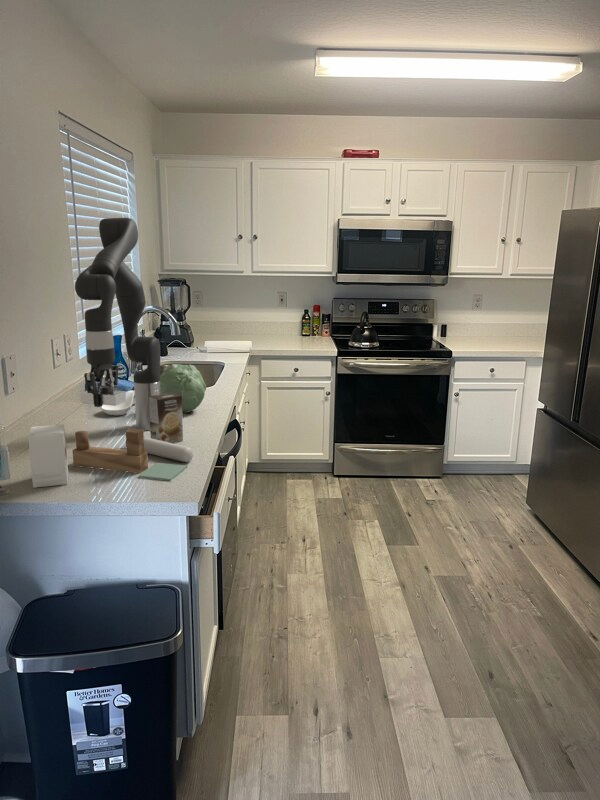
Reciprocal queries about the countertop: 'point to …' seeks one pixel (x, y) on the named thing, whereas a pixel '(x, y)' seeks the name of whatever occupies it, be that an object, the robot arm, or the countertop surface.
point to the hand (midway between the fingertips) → (104, 403)
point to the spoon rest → (120, 406)
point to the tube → (167, 450)
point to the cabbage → (183, 384)
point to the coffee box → (166, 417)
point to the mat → (162, 471)
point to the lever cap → (106, 396)
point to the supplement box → (48, 455)
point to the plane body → (112, 453)
